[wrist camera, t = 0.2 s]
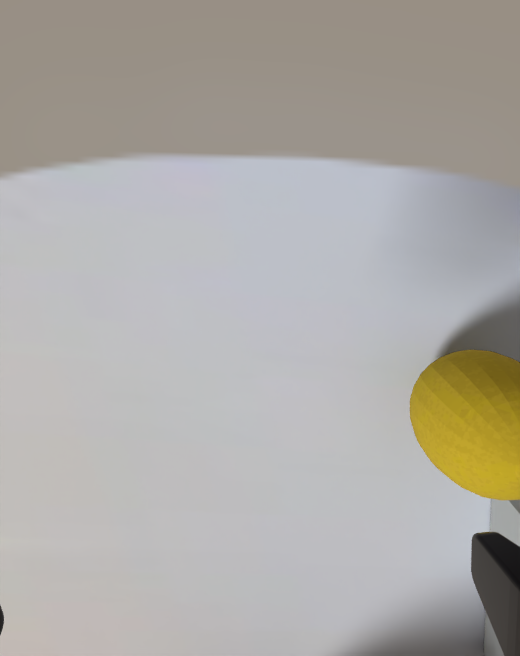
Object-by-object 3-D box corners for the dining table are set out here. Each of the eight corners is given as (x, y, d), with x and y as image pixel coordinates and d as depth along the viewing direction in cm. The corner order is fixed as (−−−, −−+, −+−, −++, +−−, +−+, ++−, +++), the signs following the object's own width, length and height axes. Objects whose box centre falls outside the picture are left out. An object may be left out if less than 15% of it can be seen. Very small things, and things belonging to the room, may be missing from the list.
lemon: (508, 329, 22) (644, 402, 14) (488, 430, 23) (601, 545, 16) (395, 326, 22) (470, 399, 14) (383, 428, 23) (445, 542, 16)
